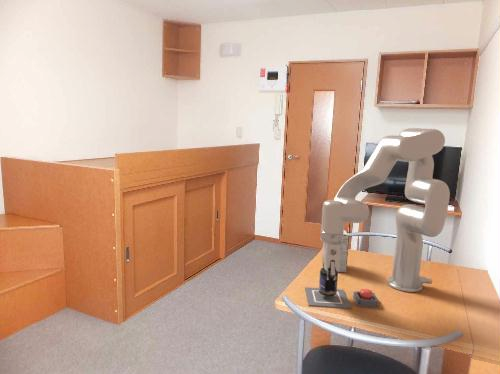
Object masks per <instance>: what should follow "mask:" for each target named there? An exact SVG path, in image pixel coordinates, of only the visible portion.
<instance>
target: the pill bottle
mask: <svg viewBox="0 0 500 374" xmlns="http://www.w3.org/2000/svg"><path fill="white" fill-rule="evenodd" d="M328 270H330V269H328ZM330 271H331V270H330ZM329 274H330V272H329ZM338 275H339V272H337V271H336V269H335V290H334V291H326V290H325V279H326V277H327V271H326V270H325V269H324V263H322V268H320V270H319V281H318V288H319V292H320V294H322V295H324V296H334V295H336V292H337V289H338V277H339V276H338Z"/></svg>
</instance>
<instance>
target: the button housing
mask: <svg viewBox="0 0 500 374" xmlns="http://www.w3.org/2000/svg"><path fill="white" fill-rule="evenodd" d="M352 298H353V300H354V302H355V304H356V307H360V308H361V307H362V308H379V307H380V306H379V305H380V304H379V298H377V296H376V294H375V292H372V299H363V298H361V297H360V291H358V290H356V291H353V295H352Z"/></svg>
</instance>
